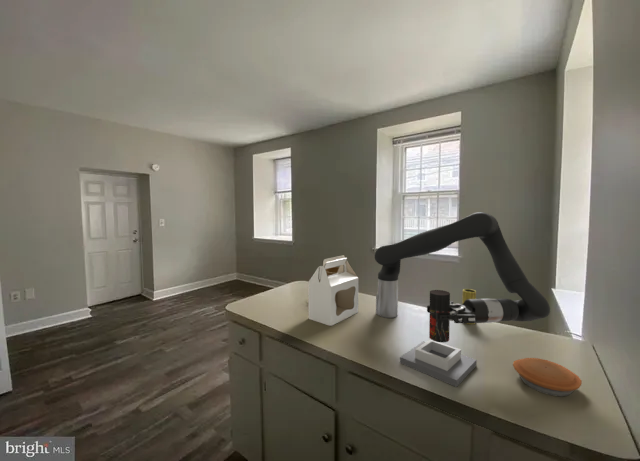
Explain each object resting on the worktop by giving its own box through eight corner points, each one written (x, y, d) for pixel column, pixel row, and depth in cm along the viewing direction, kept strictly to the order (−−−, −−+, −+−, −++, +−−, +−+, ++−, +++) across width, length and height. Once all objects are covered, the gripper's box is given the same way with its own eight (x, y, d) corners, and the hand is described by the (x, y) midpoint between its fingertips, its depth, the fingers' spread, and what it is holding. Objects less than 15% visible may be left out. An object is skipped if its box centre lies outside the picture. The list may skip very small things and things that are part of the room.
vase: (463, 318, 133) (464, 287, 131) (478, 321, 128) (479, 290, 127) (458, 321, 128) (459, 290, 127) (473, 325, 124) (474, 293, 123)
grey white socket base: (399, 362, 95) (400, 348, 94) (423, 346, 106) (423, 333, 105) (456, 387, 82) (457, 370, 81) (476, 365, 93) (476, 350, 92)
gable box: (330, 326, 124) (330, 262, 122) (307, 319, 133) (307, 258, 130) (358, 312, 141) (359, 255, 139) (337, 306, 149) (337, 252, 147)
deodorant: (451, 343, 90) (452, 295, 88) (431, 341, 91) (431, 294, 90) (446, 334, 95) (447, 290, 94) (427, 333, 96) (428, 289, 95)
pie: (595, 395, 78) (596, 377, 78) (554, 407, 74) (555, 388, 73) (537, 365, 93) (538, 350, 92) (500, 373, 88) (501, 358, 88)
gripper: (469, 292, 100) (422, 294, 99) (497, 306, 86) (443, 309, 85) (469, 313, 101) (422, 315, 100) (497, 331, 86) (442, 333, 85)
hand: (432, 312), depth 92 cm, fingers closed on deodorant, 6 cm apart
